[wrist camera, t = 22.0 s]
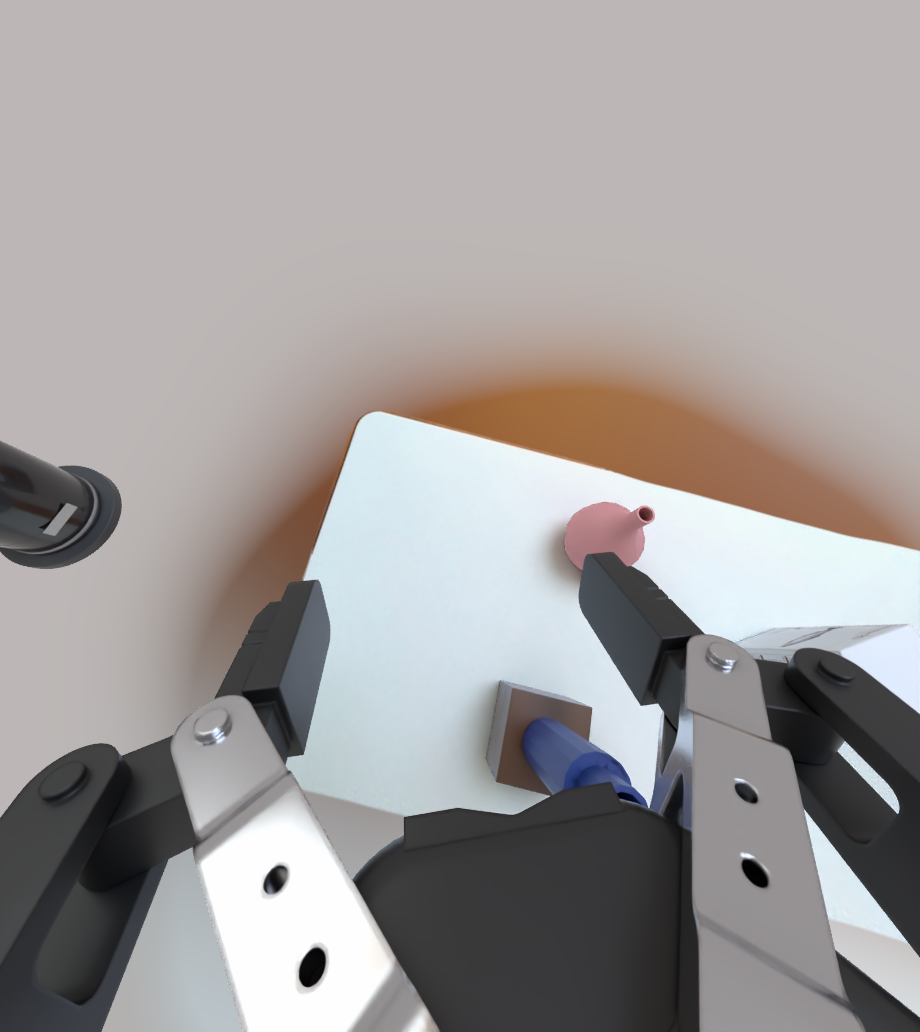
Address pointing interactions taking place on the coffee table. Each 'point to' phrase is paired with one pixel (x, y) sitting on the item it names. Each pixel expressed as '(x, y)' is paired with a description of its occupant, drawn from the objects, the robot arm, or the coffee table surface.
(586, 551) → the pink bud vase
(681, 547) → the coffee table surface
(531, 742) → the bottle
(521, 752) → the block
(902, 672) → the white packaging box
